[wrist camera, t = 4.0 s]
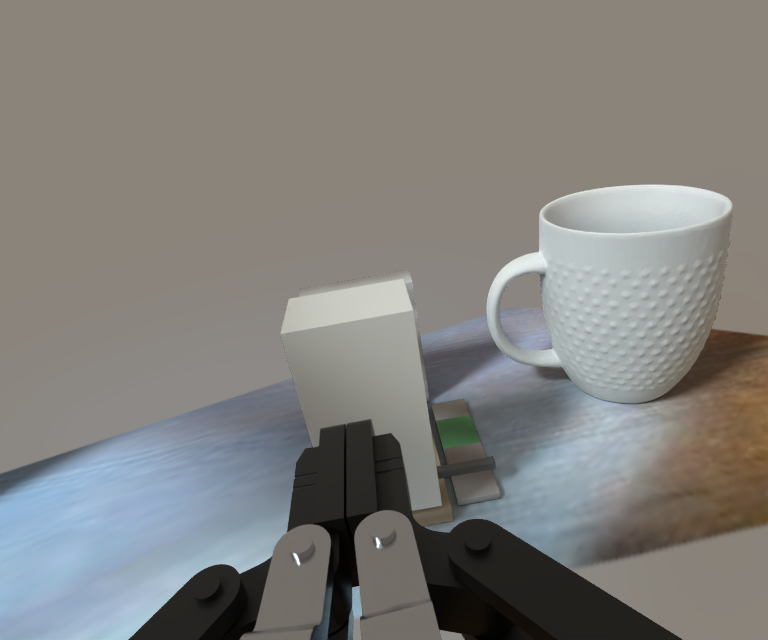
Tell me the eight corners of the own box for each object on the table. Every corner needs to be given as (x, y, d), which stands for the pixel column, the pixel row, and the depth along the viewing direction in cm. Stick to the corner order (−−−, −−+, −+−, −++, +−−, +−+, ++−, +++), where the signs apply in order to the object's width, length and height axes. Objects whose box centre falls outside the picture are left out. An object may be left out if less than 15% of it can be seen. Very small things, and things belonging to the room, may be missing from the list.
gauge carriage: (504, 494, 27) (490, 296, 22) (334, 524, 27) (280, 333, 22) (485, 446, 31) (469, 266, 26) (335, 473, 31) (289, 298, 26)
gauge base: (506, 511, 28) (495, 359, 23) (321, 544, 28) (276, 398, 23) (455, 378, 40) (441, 263, 36) (328, 400, 40) (300, 288, 36)
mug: (506, 439, 33) (494, 254, 27) (482, 355, 43) (469, 207, 37) (742, 415, 31) (782, 214, 26) (661, 334, 41) (677, 175, 36)
